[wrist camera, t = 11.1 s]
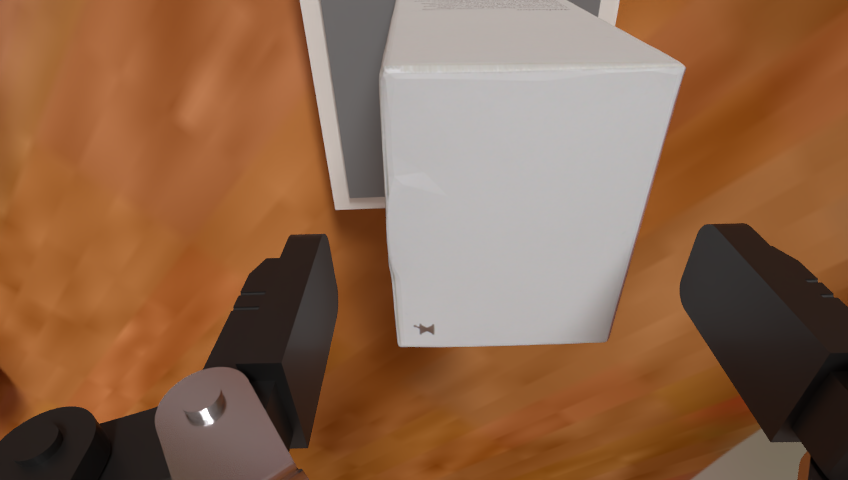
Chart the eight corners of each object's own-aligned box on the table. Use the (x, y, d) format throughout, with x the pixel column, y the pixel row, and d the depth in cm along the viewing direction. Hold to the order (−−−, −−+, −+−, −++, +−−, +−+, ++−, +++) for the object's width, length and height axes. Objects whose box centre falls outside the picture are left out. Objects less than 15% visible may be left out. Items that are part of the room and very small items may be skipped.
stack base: (609, -108, 21) (644, -111, 18) (567, 172, 29) (586, 204, 26) (301, -93, 22) (280, -94, 18) (343, 181, 30) (334, 214, 26)
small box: (526, 158, 24) (610, 349, 14) (403, 161, 24) (392, 354, 14) (546, -19, 20) (697, 61, 9) (395, -16, 20) (369, 68, 9)
